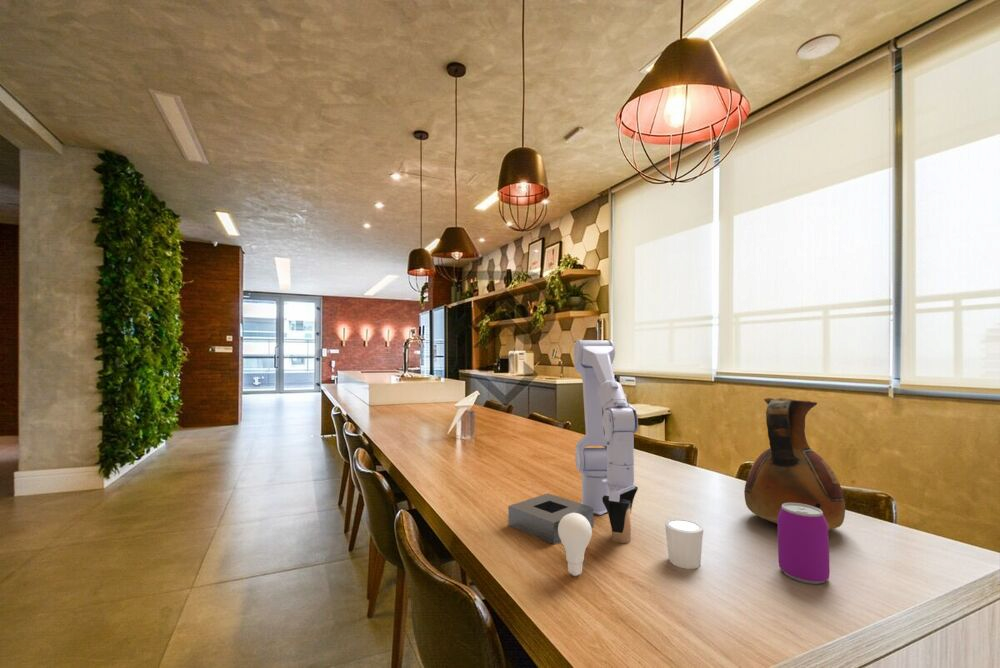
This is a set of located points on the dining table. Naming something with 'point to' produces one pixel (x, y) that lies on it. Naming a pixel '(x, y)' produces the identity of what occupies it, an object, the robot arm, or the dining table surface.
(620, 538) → the pin
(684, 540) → the shot glass
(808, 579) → the beverage can
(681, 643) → the dining table surface
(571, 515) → the lightbulb
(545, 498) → the block
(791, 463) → the ceramic pitcher
